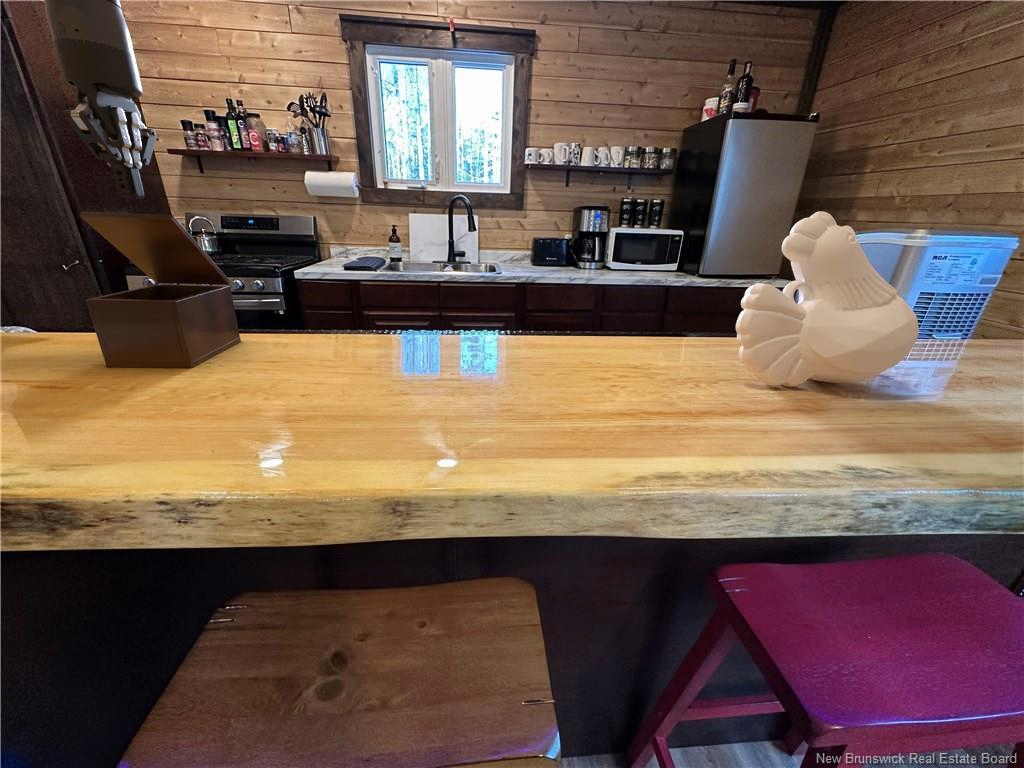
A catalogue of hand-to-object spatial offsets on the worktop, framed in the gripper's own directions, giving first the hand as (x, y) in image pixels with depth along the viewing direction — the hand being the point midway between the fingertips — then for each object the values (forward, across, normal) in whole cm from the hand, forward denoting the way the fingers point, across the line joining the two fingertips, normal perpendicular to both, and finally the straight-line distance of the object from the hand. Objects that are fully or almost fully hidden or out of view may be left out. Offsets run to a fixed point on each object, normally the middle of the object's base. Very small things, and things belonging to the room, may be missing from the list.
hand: (133, 198), depth 60 cm
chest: (+23, +2, 0) cm, 23 cm away
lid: (+8, +3, 0) cm, 8 cm away
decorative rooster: (+23, -8, -99) cm, 102 cm away
